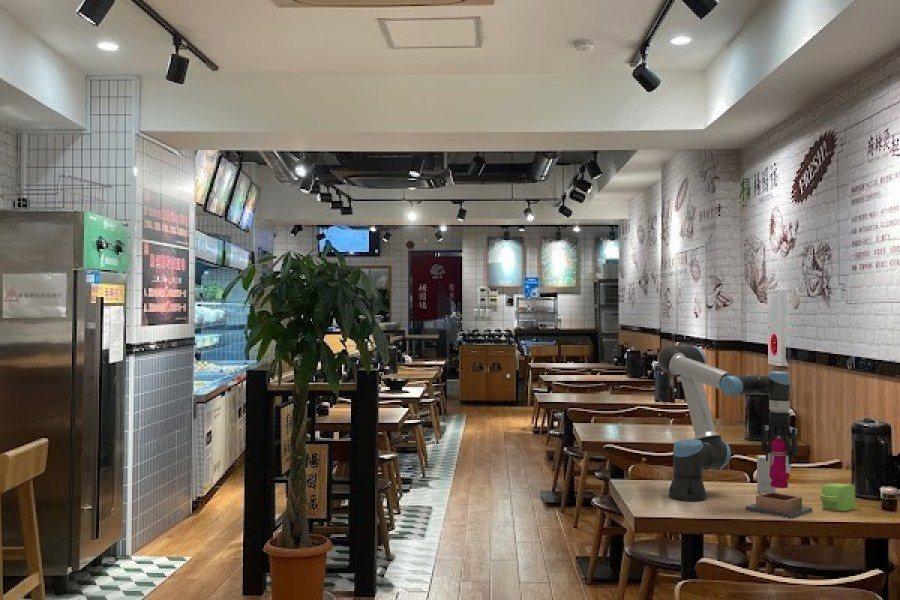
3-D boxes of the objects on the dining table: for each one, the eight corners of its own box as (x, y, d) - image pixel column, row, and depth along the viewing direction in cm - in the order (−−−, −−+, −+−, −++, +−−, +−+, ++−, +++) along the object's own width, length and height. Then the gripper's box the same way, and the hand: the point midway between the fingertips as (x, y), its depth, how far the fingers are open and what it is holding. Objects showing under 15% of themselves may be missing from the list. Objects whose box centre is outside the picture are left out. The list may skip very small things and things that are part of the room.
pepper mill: (783, 484, 329) (783, 433, 330) (793, 488, 322) (793, 435, 323) (765, 485, 328) (765, 433, 329) (775, 488, 321) (775, 435, 322)
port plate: (745, 510, 326) (745, 495, 326) (767, 503, 338) (767, 490, 338) (791, 518, 312) (791, 503, 313) (812, 511, 325) (812, 497, 325)
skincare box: (775, 495, 356) (776, 458, 356) (759, 494, 357) (759, 457, 357) (772, 491, 364) (772, 455, 364) (756, 490, 365) (756, 454, 365)
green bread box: (835, 504, 342) (834, 480, 342) (860, 507, 334) (859, 483, 335) (814, 509, 330) (814, 484, 331) (840, 512, 323) (839, 487, 323)
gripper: (751, 409, 331) (750, 468, 330) (799, 414, 317) (799, 475, 316) (760, 408, 336) (760, 466, 335) (808, 412, 322) (808, 473, 321)
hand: (779, 471), depth 325 cm, fingers closed on pepper mill, 6 cm apart
